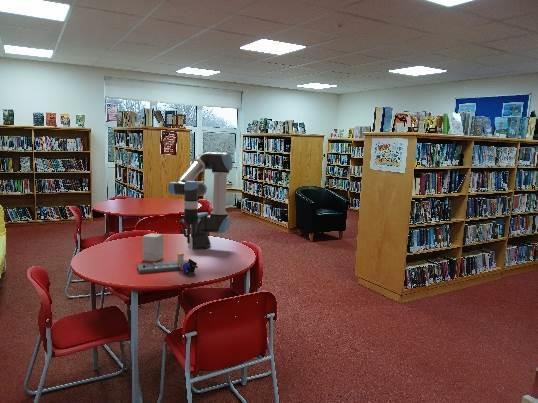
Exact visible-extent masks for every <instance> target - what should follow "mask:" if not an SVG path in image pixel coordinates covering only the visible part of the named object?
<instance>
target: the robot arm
mask: <svg viewBox="0 0 538 403" xmlns="http://www.w3.org/2000/svg"><path fill="white" fill-rule="evenodd" d="M233 162H234V161H233V158H232V155H231V153H228V152H223V151H222V152H215V151H206V152H203V153H201V154H199V155H198V156H196V157H195V158H194V159H193V160H192V161H191V164H190V165H189V167H188V168H187V169H185V171H184V172H183V173H182V174H181V176H179V177H178V179H177V180H176V181H170V182H169V183H168V185H167V190H168V194H170V195H175V196H184V200H183V201H184V202H183V204H184V205H183V207H184V209H183V217H182V219H179V223H180V225H181V229H182V232H183V236H184V237H185V238H186V241H187V245H188V246H187V247H188V249H189V250H193V249H194V250H195V249H196V250H203V249H209V248H211V245H212V244H211V241H210V237H209V233H211V234H212V233H215V234H216V233H217V234H226V233H228V231H229V229H230V226H231V217H230V216H229V213H228V212H227V210H226V207H227V206H226V205H227V187H228V186H227V184H228V181H227V180H228V179H227V177H228V175H229V174H230V171H232V170H233V165H234V164H233ZM205 170H211V174H213V190H212V191H213V194H212V211H211V212H210V214H209V212H205V211H204V212H199V209H198V208H199V202H198V201H199V197H200V196H201V197H202V196H204V195H205V194H206V193H207V190H208V188H207V185H206V184H205V183H203V182H198V181H197V180H196V178H197V177H198V176H199V175H200V173H202V172H204V171H205ZM195 180H196V181H195ZM185 223H186V227H185Z"/></svg>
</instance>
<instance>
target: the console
mask: <svg viewBox="0 0 538 403" xmlns="http://www.w3.org/2000/svg"><path fill="white" fill-rule="evenodd" d="M184 260H185V261H187V263H188V260H189V259H184ZM137 270H138V274H139V275H140V274H152V273H160V272H161V273H162V272H163V273H164V272H174V271H183V269H180V268H179V266H178V263H177V260H167V261H156V262H154V261H153V262H145V263H144V262H142V263H137Z"/></svg>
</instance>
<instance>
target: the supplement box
mask: <svg viewBox="0 0 538 403" xmlns="http://www.w3.org/2000/svg"><path fill="white" fill-rule="evenodd" d="M142 259H143V261H148V262H153V263H154V262H159V261H160V260H162V259H164V234H161V233H152V232H151V233H148V234H144V235H142Z"/></svg>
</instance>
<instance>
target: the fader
mask: <svg viewBox="0 0 538 403" xmlns="http://www.w3.org/2000/svg"><path fill="white" fill-rule="evenodd" d="M176 255H177V260H176V261H177V263H178V264H179V262H180V261H181V260H184V257H185V254H184V253H183V252H178V253H176Z"/></svg>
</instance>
